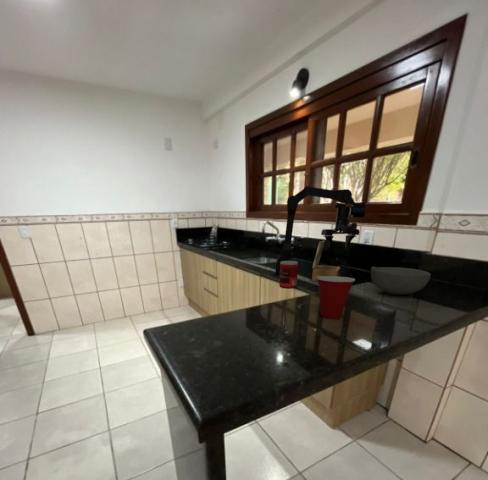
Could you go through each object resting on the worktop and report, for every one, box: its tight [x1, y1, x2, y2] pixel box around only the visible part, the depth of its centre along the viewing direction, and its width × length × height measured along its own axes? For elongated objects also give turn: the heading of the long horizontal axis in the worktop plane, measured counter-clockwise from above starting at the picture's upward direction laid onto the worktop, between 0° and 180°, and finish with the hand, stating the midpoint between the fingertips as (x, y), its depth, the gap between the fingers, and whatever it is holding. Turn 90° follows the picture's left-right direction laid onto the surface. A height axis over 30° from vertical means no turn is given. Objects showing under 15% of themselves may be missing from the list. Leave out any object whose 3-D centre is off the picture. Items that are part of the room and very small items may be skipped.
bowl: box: [370, 266, 432, 296], centre depth 104 cm, size 20×20×10 cm
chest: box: [311, 265, 341, 282], centre depth 133 cm, size 12×13×6 cm
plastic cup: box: [317, 276, 356, 319], centre depth 79 cm, size 11×11×12 cm
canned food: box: [278, 260, 299, 290], centre depth 116 cm, size 8×8×11 cm
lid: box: [312, 240, 326, 269], centre depth 131 cm, size 12×13×1 cm
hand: (338, 249), depth 138 cm, fingers open, 9 cm apart
